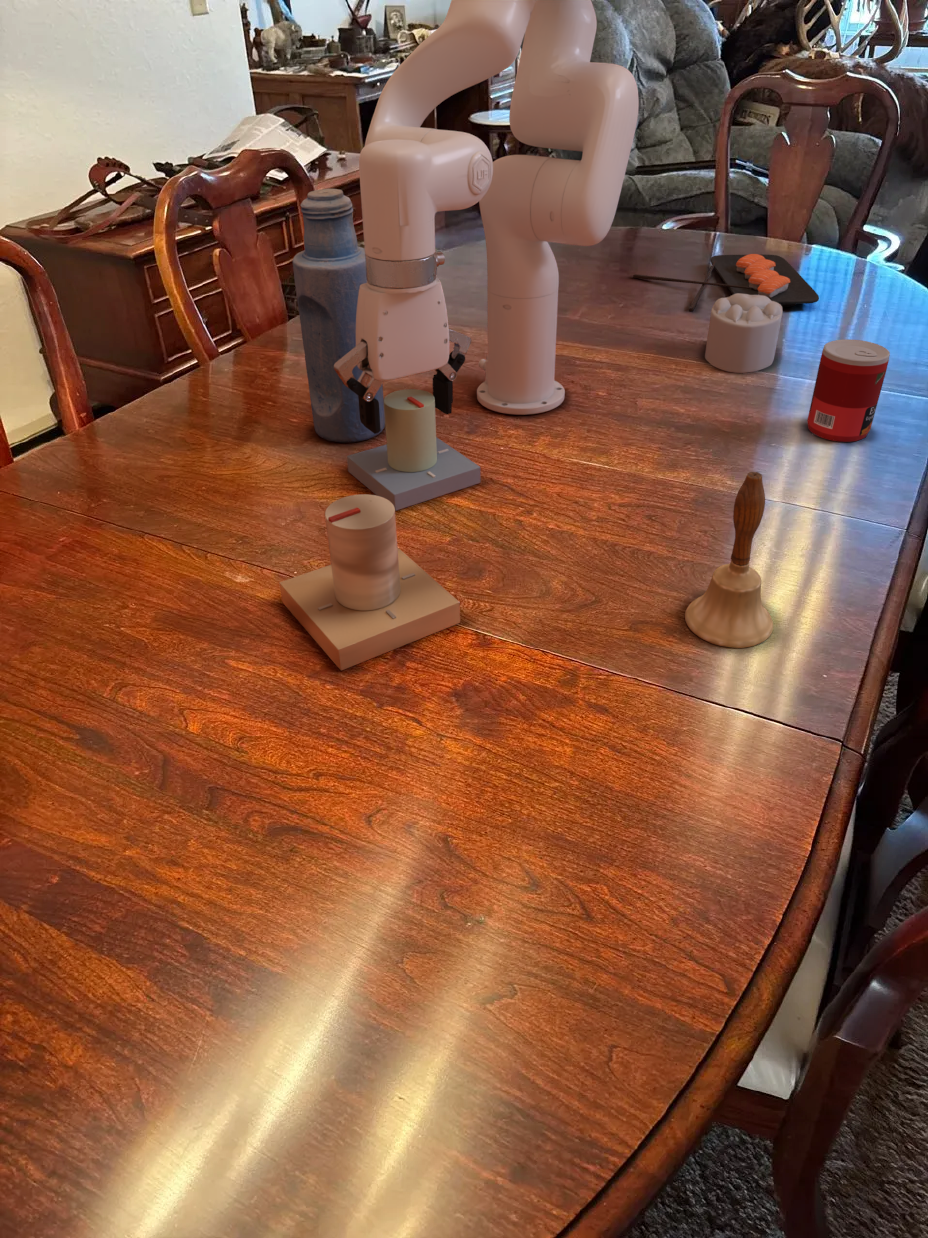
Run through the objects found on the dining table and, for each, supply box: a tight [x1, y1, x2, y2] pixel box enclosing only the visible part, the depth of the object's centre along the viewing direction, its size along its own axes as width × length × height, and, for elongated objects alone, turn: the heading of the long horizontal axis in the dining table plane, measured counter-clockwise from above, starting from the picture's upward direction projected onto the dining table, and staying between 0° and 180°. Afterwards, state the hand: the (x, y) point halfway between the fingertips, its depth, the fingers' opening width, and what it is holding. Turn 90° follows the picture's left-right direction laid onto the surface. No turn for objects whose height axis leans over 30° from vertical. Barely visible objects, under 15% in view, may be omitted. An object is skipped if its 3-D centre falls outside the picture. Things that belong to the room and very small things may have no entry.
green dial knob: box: [384, 388, 437, 472], centre depth 110 cm, size 6×6×8 cm
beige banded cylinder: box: [324, 493, 401, 611], centre depth 87 cm, size 6×6×9 cm
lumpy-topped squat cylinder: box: [704, 293, 783, 374], centre depth 141 cm, size 10×13×9 cm
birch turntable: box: [278, 547, 461, 672], centre depth 90 cm, size 13×13×3 cm
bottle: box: [292, 188, 385, 444], centre depth 116 cm, size 10×10×30 cm
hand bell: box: [684, 471, 774, 649], centre depth 84 cm, size 8×8×16 cm
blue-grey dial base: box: [346, 436, 482, 512], centre depth 113 cm, size 12×12×2 cm
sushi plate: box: [632, 253, 820, 312], centre depth 171 cm, size 29×30×4 cm
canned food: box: [806, 339, 891, 443], centre depth 119 cm, size 8×8×11 cm
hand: (407, 419), depth 109 cm, fingers open, 9 cm apart
